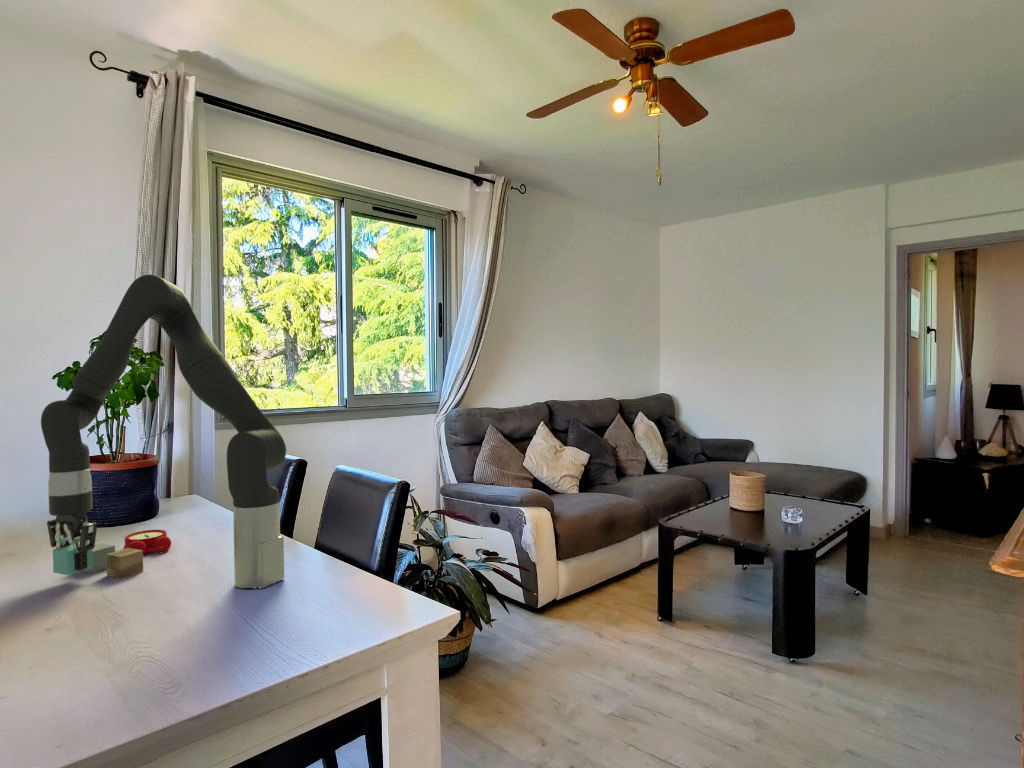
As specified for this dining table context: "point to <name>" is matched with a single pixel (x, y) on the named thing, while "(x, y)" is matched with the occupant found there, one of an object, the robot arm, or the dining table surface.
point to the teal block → (68, 560)
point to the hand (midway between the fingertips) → (73, 567)
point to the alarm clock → (148, 541)
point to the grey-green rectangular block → (100, 556)
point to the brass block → (124, 563)
